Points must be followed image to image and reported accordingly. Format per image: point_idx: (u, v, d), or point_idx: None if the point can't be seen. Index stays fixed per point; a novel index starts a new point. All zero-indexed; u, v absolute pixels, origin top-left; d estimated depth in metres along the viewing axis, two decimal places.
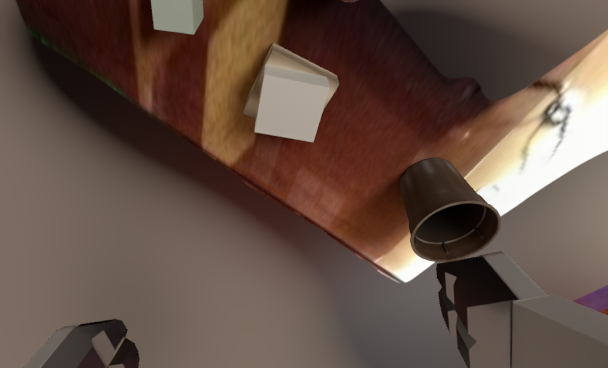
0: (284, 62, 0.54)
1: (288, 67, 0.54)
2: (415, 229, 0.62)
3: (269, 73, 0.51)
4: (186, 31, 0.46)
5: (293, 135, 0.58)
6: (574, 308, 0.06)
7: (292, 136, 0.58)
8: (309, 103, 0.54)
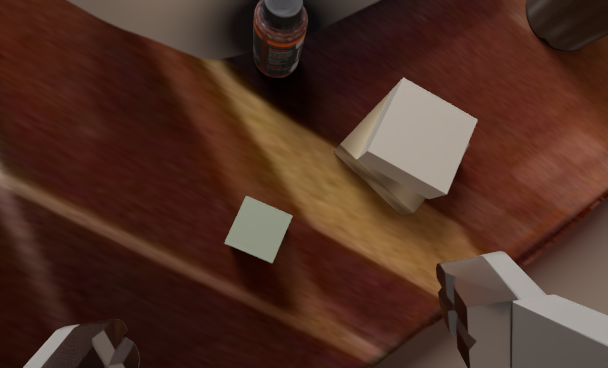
0: (358, 135, 0.42)
1: (365, 132, 0.42)
2: None
3: (368, 146, 0.38)
4: (286, 223, 0.34)
5: (462, 142, 0.39)
6: (574, 308, 0.06)
7: (463, 144, 0.39)
8: (419, 107, 0.39)
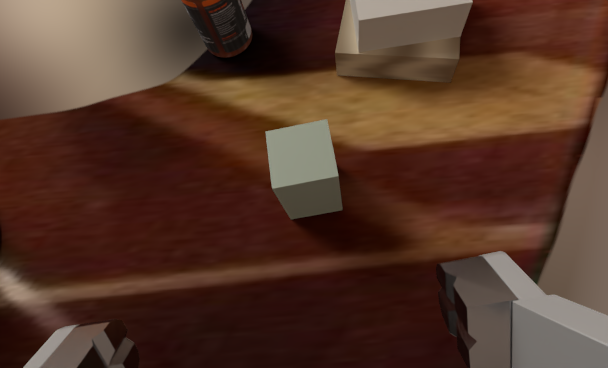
0: (347, 35, 0.36)
1: (352, 28, 0.37)
2: None
3: (357, 18, 0.32)
4: (325, 129, 0.27)
5: None
6: (574, 308, 0.06)
7: None
8: None
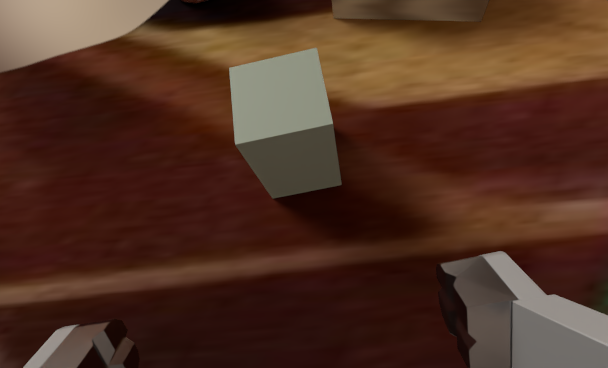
0: None
1: None
2: None
3: None
4: (314, 61, 0.19)
5: None
6: (574, 308, 0.06)
7: None
8: None
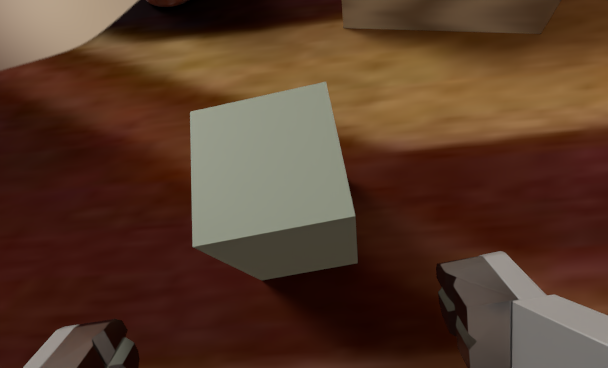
0: None
1: None
2: None
3: None
4: (323, 104, 0.12)
5: None
6: (574, 308, 0.06)
7: None
8: None
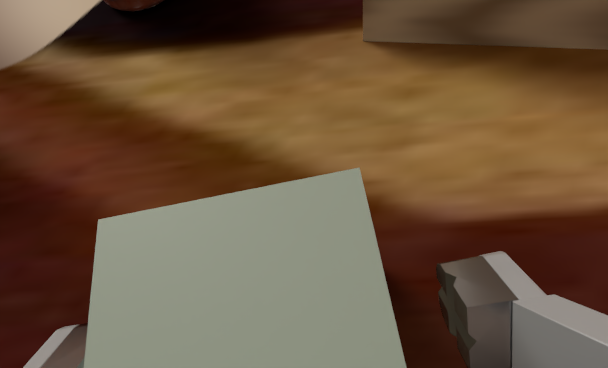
0: None
1: None
2: None
3: None
4: (355, 219, 0.06)
5: None
6: (574, 308, 0.06)
7: None
8: None
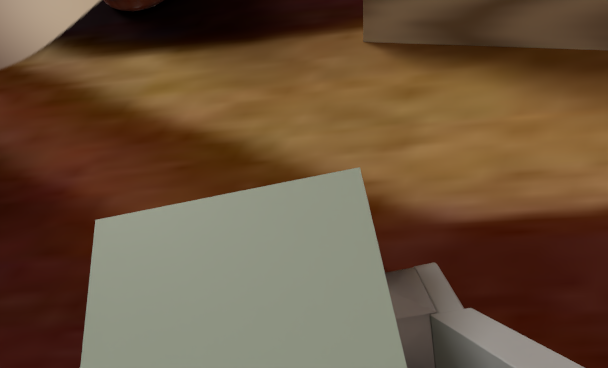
0: None
1: None
2: None
3: None
4: (356, 220, 0.06)
5: None
6: (484, 322, 0.06)
7: None
8: None
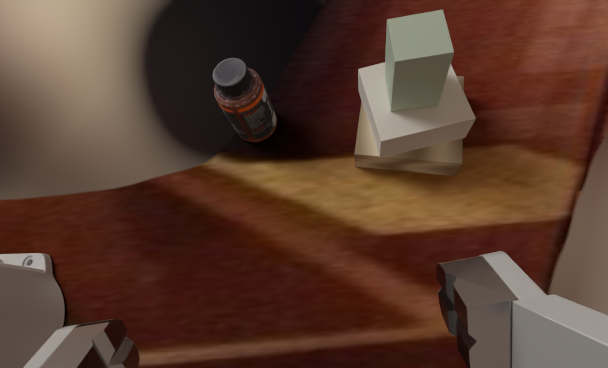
0: (364, 136, 0.42)
1: (368, 130, 0.42)
2: None
3: (379, 137, 0.38)
4: (441, 17, 0.32)
5: (448, 72, 0.39)
6: (574, 308, 0.06)
7: (450, 72, 0.39)
8: None
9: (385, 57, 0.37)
